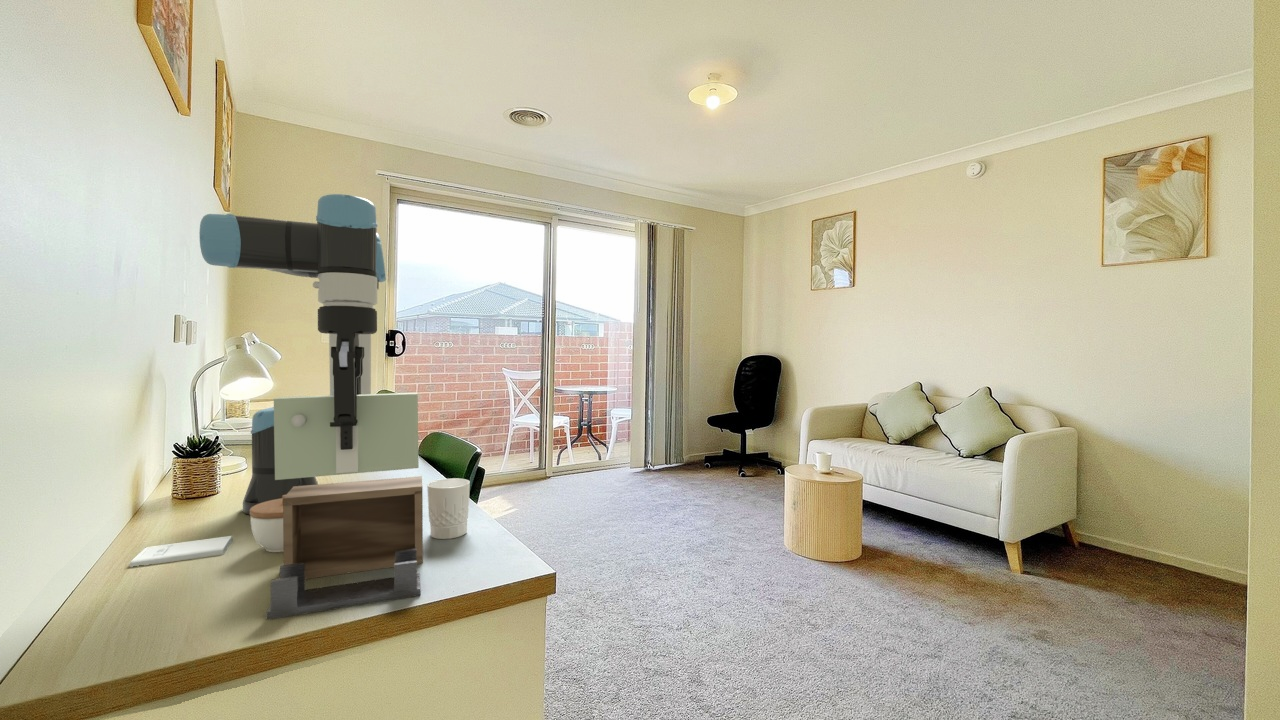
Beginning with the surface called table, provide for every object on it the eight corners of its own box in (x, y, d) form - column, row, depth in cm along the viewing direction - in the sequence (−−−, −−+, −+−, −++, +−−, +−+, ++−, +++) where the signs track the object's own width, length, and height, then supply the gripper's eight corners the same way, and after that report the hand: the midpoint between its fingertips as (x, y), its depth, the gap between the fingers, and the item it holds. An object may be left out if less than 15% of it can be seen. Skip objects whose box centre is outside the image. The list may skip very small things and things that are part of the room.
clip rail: (277, 600, 78) (276, 565, 78) (420, 579, 85) (419, 547, 85) (266, 619, 72) (266, 582, 72) (420, 595, 80) (420, 561, 79)
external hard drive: (223, 557, 95) (129, 570, 90) (232, 543, 103) (146, 554, 97) (223, 548, 95) (129, 561, 90) (232, 534, 103) (146, 545, 97)
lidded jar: (286, 559, 93) (285, 505, 93) (234, 554, 95) (233, 501, 95) (333, 538, 104) (333, 489, 103) (285, 534, 106) (285, 486, 106)
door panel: (418, 464, 83) (417, 392, 83) (418, 469, 79) (417, 394, 79) (280, 475, 76) (278, 397, 76) (272, 481, 72) (271, 399, 72)
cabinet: (294, 563, 91) (293, 486, 91) (421, 547, 99) (421, 476, 99) (283, 582, 84) (283, 498, 84) (422, 562, 92) (422, 486, 92)
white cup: (420, 533, 106) (419, 483, 106) (457, 524, 112) (457, 476, 112) (439, 543, 101) (439, 490, 101) (477, 533, 107) (477, 482, 107)
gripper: (326, 309, 84) (327, 461, 84) (307, 300, 69) (308, 484, 69) (380, 311, 87) (380, 457, 87) (373, 302, 72) (374, 478, 72)
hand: (348, 468), depth 78 cm, fingers closed on door panel, 3 cm apart
